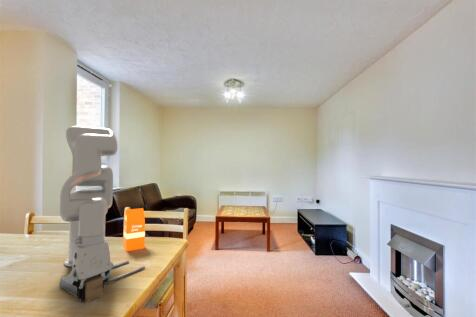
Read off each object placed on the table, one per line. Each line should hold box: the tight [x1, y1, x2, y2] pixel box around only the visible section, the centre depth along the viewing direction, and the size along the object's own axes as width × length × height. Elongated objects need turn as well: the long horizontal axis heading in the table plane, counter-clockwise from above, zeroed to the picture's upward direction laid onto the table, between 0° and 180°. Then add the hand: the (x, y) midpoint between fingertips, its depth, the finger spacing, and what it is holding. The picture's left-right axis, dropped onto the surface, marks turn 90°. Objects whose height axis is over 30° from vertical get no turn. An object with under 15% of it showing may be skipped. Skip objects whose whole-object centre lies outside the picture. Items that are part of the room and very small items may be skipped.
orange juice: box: [123, 207, 146, 252], centre depth 128 cm, size 8×9×20 cm
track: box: [59, 260, 146, 298], centre depth 95 cm, size 12×26×3 cm, turn 147°
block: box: [83, 275, 104, 303], centre depth 80 cm, size 5×5×6 cm
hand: (90, 294), depth 80 cm, fingers closed on block, 5 cm apart
